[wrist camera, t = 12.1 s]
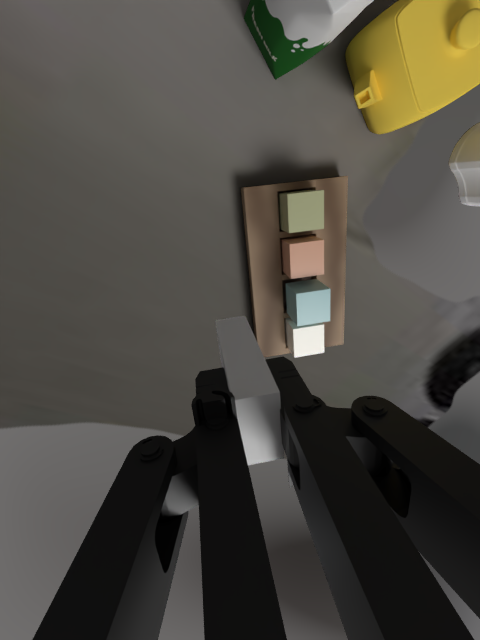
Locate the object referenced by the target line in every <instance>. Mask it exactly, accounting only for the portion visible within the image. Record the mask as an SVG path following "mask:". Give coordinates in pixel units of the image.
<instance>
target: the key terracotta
mask: <svg viewBox="0 0 480 640" xmlns="http://www.w3.org/2000/svg"><path fill="white" fill-rule="evenodd" d="M280 250H281V269H282V272H284V273H285V274H286V275H287V276H288V277H289V278H290V279H295V278H302V277H309V276H316V275H323V274H324V240H323V239H321V238H318V237H316V236H313V235H304V236H296V237H288V238H280Z"/></svg>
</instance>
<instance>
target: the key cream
mask: <svg viewBox="0 0 480 640" xmlns="http://www.w3.org/2000/svg"><path fill="white" fill-rule="evenodd" d="M284 326H285V344H286V345H287V347H288V348H289V350H290V352H291V353H292V355H293V356H294V358H295V357H301V356H307V355H313V354H319V353H324V324H323V323H322V322H321V323H315V324H309V325H302V326H297V325H296V324H295V323H294V321H293V320H292V319H291V318H284Z"/></svg>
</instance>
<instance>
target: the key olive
mask: <svg viewBox="0 0 480 640" xmlns="http://www.w3.org/2000/svg"><path fill="white" fill-rule="evenodd" d="M277 194H278V213H279V229H281V230H283V231H285V232H288V233H295V232H302V231H310V230H318V229H324V190H303V191H294V192H286V193H277Z"/></svg>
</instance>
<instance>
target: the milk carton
mask: <svg viewBox="0 0 480 640" xmlns="http://www.w3.org/2000/svg"><path fill="white" fill-rule="evenodd" d="M373 1H374V0H250V3H249V5H248V8H247V11H246V14H245V16H244V20H245V22H246V24H247V26H248V28H249V30H250V32H251V34H252V35H253V37H254V39H255V41H256V43H257V45H258V47H259V49H260V51H261V53H262V55H263V57H264V59H265V61H266V63H267V65H268V66H269V68H270V70H271V72H272V74H273V76H274V78H275V79H277V78H279V77H281V76H282V75H284V74H286V73H288V72H289V71H291V70H293V69H294V68H296V67H298V66H299V65H301V64H303V63H304V62H305V61H307V60H308V59H310V58H311V57H313V56H314V55H315V54H317V53H318V52H319V51H321V50H322V49H323V48H325V47H326V46H327V45H328V44H329V43H330V42H332V41H333V40H334V39H335V38H336V37H337V36H338V35H339V34H340V33H341V32H342V31H343V30H344V29H345V28H346V27H347V26H348V25H349V24H350V23H351V22H352V21H353V20H354V19H355V18H356V17H357V16H358V15H359V14H360V13H361V12H362V11H363V9H364V8H365V7H366V6H368V5H369V4H370V3H372V2H373Z"/></svg>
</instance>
